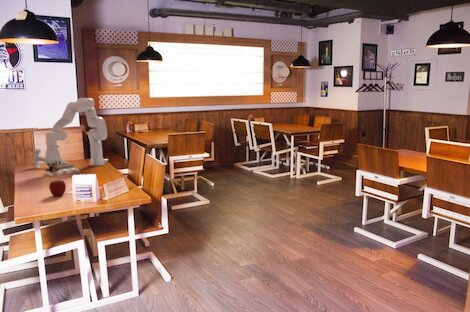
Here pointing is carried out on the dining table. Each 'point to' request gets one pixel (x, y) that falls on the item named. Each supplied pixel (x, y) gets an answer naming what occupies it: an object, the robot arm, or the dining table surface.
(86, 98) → the robot arm
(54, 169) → the brown block with stick
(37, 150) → the hammer
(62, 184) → the apple
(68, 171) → the board
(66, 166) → the rail
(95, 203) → the dining table surface
